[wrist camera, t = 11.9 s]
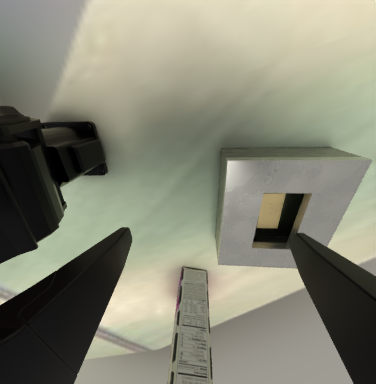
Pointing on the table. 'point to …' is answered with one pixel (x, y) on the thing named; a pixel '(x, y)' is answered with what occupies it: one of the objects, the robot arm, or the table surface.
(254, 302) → the table surface
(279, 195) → the tan wooden post
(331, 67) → the table surface
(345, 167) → the money box
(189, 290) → the candy bar box
